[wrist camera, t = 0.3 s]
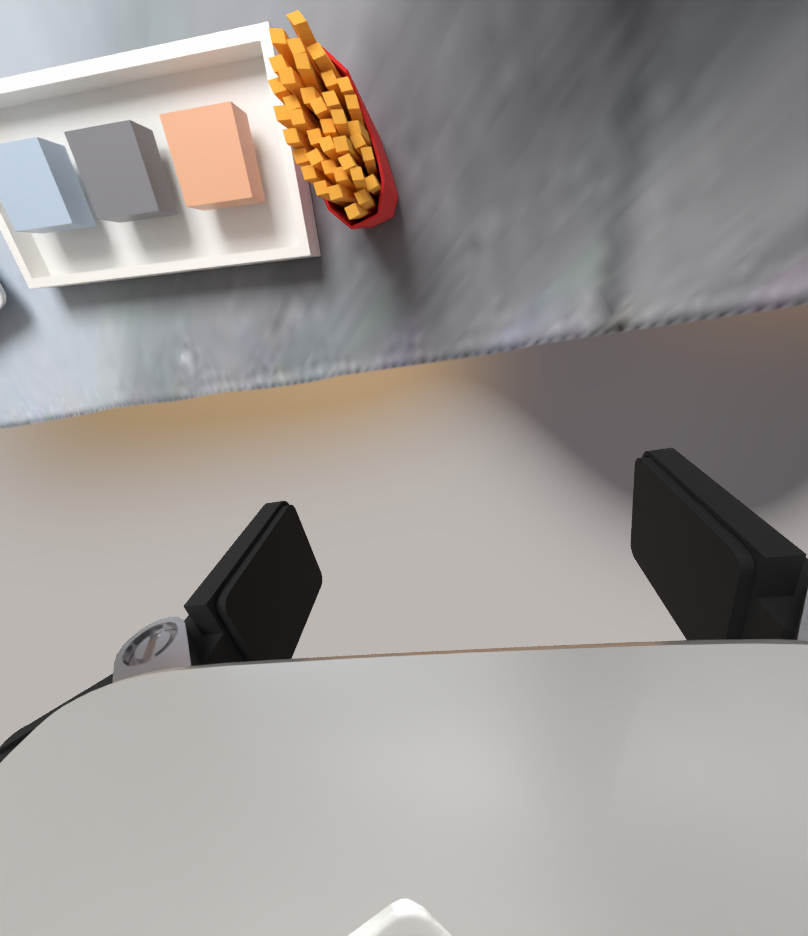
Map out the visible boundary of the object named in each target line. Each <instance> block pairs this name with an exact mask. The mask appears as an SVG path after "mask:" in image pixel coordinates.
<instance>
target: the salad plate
mask: <svg viewBox="0 0 808 936" xmlns="http://www.w3.org/2000/svg"><path fill="white" fill-rule="evenodd" d="M5 303H6V293H5V291H4V289H3V287H2V285H1V284H0V309H1V308H2V307H3V306H4V304H5Z"/></svg>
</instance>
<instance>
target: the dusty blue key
mask: <svg viewBox="0 0 808 936" xmlns="http://www.w3.org/2000/svg"><path fill="white" fill-rule="evenodd" d="M0 200H1V202H2V204H3V206H4V209H5V211H6V213H7V215H8V217H9V219H10V221H11V223H12V225H13V227H14V230H15V231H16V232H27V233H38V234H44V233H51V232H58V231H65V230H73V229H80V228H87V227H94V226H96V224H95V222H94V219H93V217H92V214H91V211H90V209H89V206H88V204H87V201H86V199H85V196H84V194H83V191H82V189H81V186H80V183H79V181H78V178H77V176H76V173H75V171H74V168H73V166H72V163H71V160H70V158H69V155H68V153H67V150H66V148H65V146H64V145H60V144H57V143H54V142H51V141H48V140H45V139H42V138H39V137H34V138H28V139H23V140H17V141H12V142H6V143H1V144H0Z"/></svg>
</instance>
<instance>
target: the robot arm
mask: <svg viewBox="0 0 808 936" xmlns="http://www.w3.org/2000/svg"><path fill="white" fill-rule="evenodd" d="M631 550H632V553H633V556H634V558H635V560H636V561H637V563H638V564H639V566H640V568H641V569H642V571H643V572H644V574H645V575H646V577H647V578H648V580H649V582H650V583H651V585H652V586H653V588H654V589H655V591H656V593H657V594H658V596H659V597H660V599H661V600H662V602H663V603H664V605H665V607H666V608H667V610H668V611H669V613H670V614H671V616H672V618H673V619H674V621H675V622H676V624H677V625H678V627H679V628H680V630H681V632H682V633H683V635H684V636H685V638H686V639H687V640H683V641H663V642H662V641H661V642H631V643H630V642H628V643H605V644H582V645H559V646H538V647H515V648H492V649H473V650H453V651H431V652H411V653H391V654H371V655H353V656H335V657H317V658H299V659H291V658H292V656H293V653H294V651H295V648H296V646H297V644H298V641H299V639H300V636H301V634H302V631H303V629H304V626H305V624H306V622H307V619H308V617H309V614H310V612H311V609H312V607H313V604H314V602H315V600H316V597H317V595H318V593H319V590H320V588H321V585H322V575H321V571H320V569H319V566H318V564H317V561H316V559H315V556H314V554H313V551H312V549H311V546H310V544H309V541H308V539H307V536H306V534H305V531H304V529H303V527H302V524H301V522H300V519H299V517H298V514H297V512H296V509H295V508H294V506H293V505H289V504H288V503H287V502H286V501H280V502H273V503H266V504H265V505H264V506H263V507H262V509H261V510H260V511H259V512H258V514H257V515H256V516H255V517H254V518H253V520H252V521H251V522H250V523H249V525H248V526H247V527H246V528H245V530H244V531H243V532H242V534H241V535H240V536H239V537H238V539H237V540H236V541H235V542H234V544H233V545H232V546H231V547H230V549H229V550H228V551H227V552H226V554H225V555H224V556H223V557H222V559H221V560H220V561H219V562H218V564H217V565H216V566H215V568H214V569H213V570H212V571H211V572H210V574H209V575H208V576H207V578H206V579H205V580H204V581H203V583H202V584H201V585H200V586H199V587H198V589H197V590H196V591H195V593H194V594H193V595H192V596H191V597H190V599H189V600H188V601H187V603H186V604H185V605H184V608H185V609H186V611H187V612H188V614H189V616H188V617H187V618H186V619H185V621H184V620H183V619H181V618H178V617H168V618H164V619H160V620H158V621H156V622H154V623H151V624H149V625H148V626H146V627H145V628H143V629H141V630H140V631H139V632H138V633H136V634H135V635H134V636H132V637H131V638H130V639H129V640H128V641H127V642H126V643H125V644H124V646H122V648H121V649H120V651H119V653H118V654H117V656H116V659H115V662H114V671H113V674H111V675H110V676H108V677H106V678H105V679H103V680H102V681H100V682H98V683H97V684H95V685H93V686H92V687H90V688H88V689H87V690H85V691H83V692H82V693H80V694H78V695H77V696H75V697H73V698H72V699H70V700H68V701H67V702H65V703H63V704H62V705H60V706H58V707H57V708H55V709H54V710H52V711H50V712H49V713H47V714H45V715H44V716H42V717H40V718H39V719H37V720H35V721H34V722H32V723H31V724H29V725H27V726H25V727H23V728H21V729H20V730H18V731H17V732H15V733H14V734H13V735H12V736H11V737H9V738H8V739H7V740H6V741H5V742H4V743H3V744H2V745H1V747H0V936H808V559H807V558H806V554H805V553H804V552H803V551H802V550H800V549H799V548H798V547H797V546H795V545H794V544H793V543H791V542H790V541H789V540H788V539H786V538H785V537H784V536H783V535H781V534H780V533H779V532H778V531H776V530H775V529H774V528H773V527H771V526H770V525H769V524H768V523H766V522H765V521H764V520H763V519H761V518H760V517H759V516H758V515H756V514H755V513H754V512H752V511H751V510H750V509H749V508H748V507H746V506H745V505H744V504H743V503H741V502H740V501H739V500H737V499H736V498H735V497H734V496H733V495H731V494H730V493H729V492H727V491H726V490H725V489H724V488H722V487H721V486H720V485H719V484H717V483H716V482H715V481H714V480H712V479H711V478H710V477H709V476H707V475H706V474H705V473H704V472H702V471H701V470H700V469H699V468H697V467H696V466H695V465H694V464H692V463H691V462H690V461H688V460H687V459H686V458H685V457H684V456H682V455H681V454H680V453H679V452H677V451H676V450H675V449H673V448H667V449H660V450H653V451H646V452H644V454H643V456H642V458H638V459H636V461H635V472H634V491H633V510H632V529H631Z"/></svg>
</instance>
